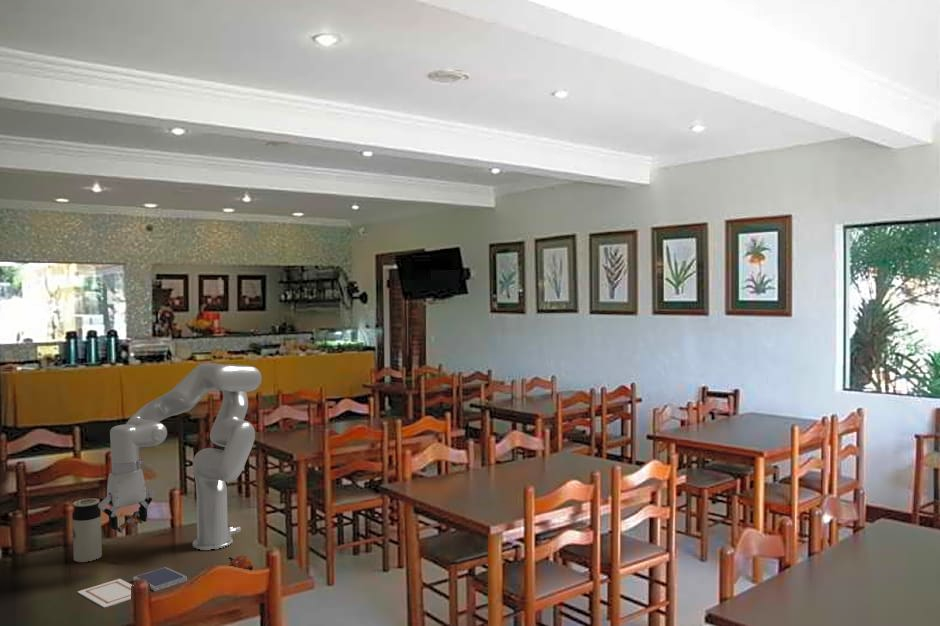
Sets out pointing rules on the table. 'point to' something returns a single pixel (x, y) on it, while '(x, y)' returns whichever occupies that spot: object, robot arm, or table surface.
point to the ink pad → (162, 578)
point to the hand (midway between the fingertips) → (128, 524)
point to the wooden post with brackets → (130, 521)
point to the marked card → (108, 593)
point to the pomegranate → (242, 562)
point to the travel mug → (86, 530)
